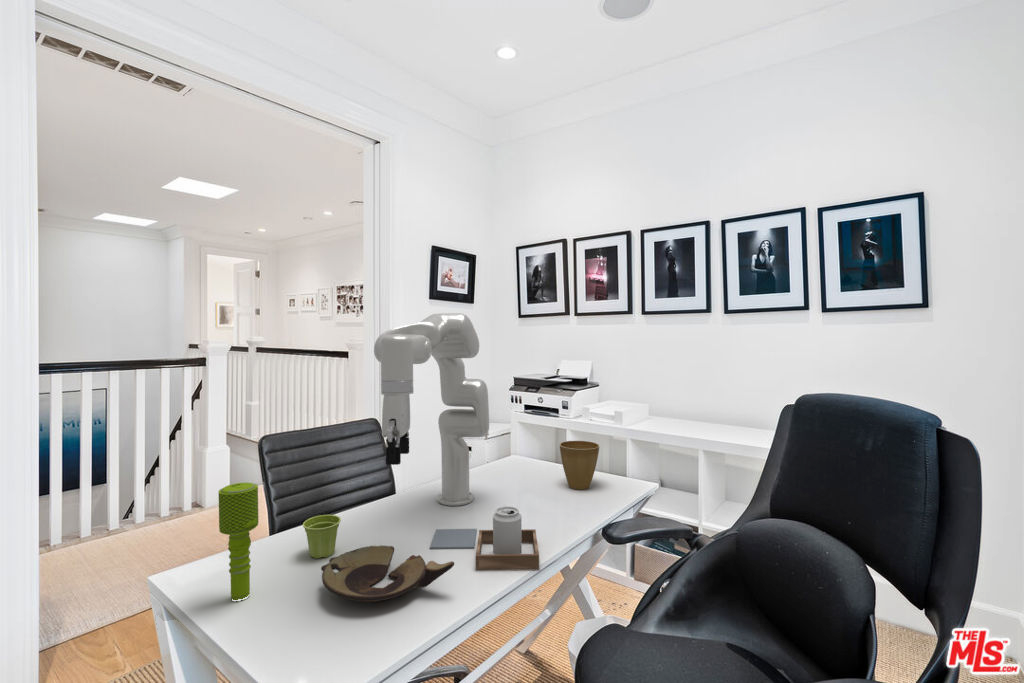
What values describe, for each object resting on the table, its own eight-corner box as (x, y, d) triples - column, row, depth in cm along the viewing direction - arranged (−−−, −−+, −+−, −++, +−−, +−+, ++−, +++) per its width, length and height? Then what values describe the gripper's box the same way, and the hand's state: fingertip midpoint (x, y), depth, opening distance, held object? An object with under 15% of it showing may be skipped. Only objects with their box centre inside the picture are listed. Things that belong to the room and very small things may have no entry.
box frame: (479, 542, 135) (479, 529, 135) (535, 541, 135) (535, 529, 135) (475, 570, 119) (475, 556, 119) (539, 569, 120) (539, 555, 120)
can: (518, 563, 123) (518, 516, 123) (490, 560, 124) (489, 514, 124) (524, 550, 130) (523, 505, 130) (496, 547, 132) (496, 503, 132)
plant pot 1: (348, 548, 132) (348, 517, 132) (324, 564, 123) (324, 530, 123) (320, 543, 135) (320, 512, 135) (295, 559, 126) (294, 525, 126)
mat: (436, 530, 143) (436, 529, 143) (476, 530, 143) (476, 528, 143) (429, 549, 131) (429, 547, 131) (474, 548, 131) (474, 546, 131)
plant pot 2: (602, 493, 175) (602, 449, 175) (561, 493, 175) (561, 449, 175) (596, 480, 190) (596, 439, 190) (557, 480, 190) (557, 439, 190)
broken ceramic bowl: (374, 556, 127) (373, 527, 127) (466, 586, 112) (466, 554, 112) (297, 596, 108) (297, 562, 108) (397, 640, 93) (396, 600, 93)
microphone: (212, 603, 106) (209, 489, 105) (242, 585, 113) (240, 478, 112) (239, 610, 103) (237, 493, 102) (269, 592, 110) (267, 482, 109)
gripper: (390, 383, 125) (391, 450, 125) (371, 392, 107) (372, 469, 108) (419, 383, 125) (420, 449, 125) (405, 391, 107) (406, 468, 108)
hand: (398, 458), depth 116 cm, fingers open, 9 cm apart
